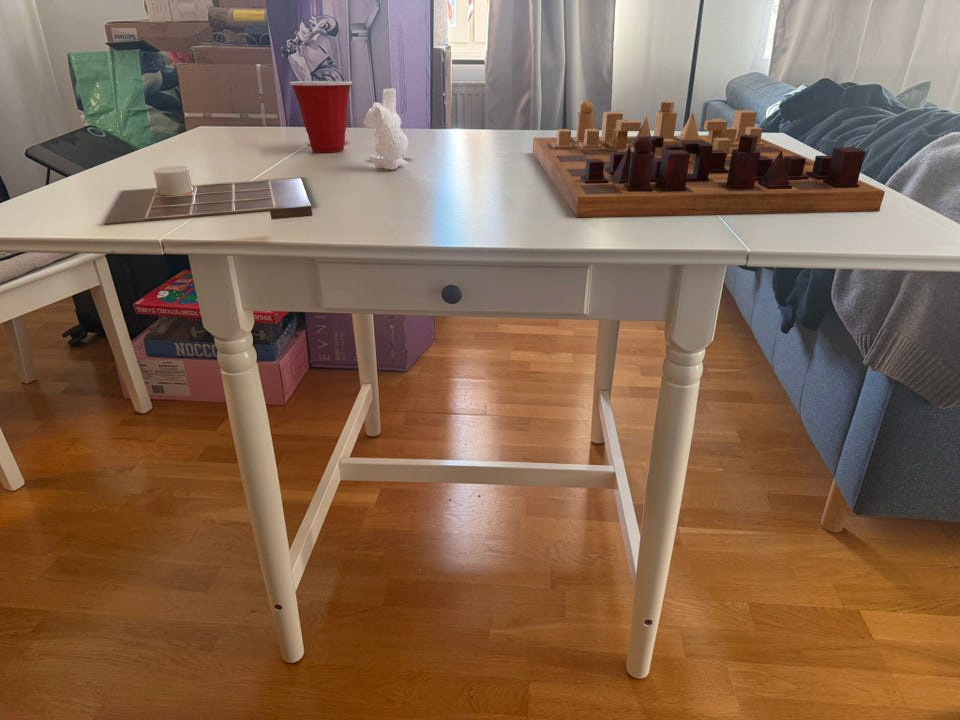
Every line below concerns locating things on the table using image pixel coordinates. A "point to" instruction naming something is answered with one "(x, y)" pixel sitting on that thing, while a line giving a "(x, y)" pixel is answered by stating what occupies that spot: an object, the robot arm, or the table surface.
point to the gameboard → (695, 170)
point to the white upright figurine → (387, 132)
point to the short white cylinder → (173, 180)
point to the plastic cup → (324, 112)
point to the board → (214, 201)
